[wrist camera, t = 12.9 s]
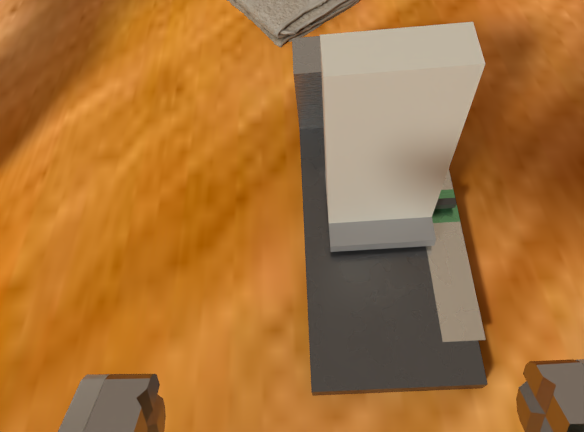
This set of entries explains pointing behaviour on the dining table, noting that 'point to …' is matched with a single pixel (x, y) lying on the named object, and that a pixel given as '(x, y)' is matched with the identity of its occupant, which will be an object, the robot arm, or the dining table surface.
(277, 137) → the dining table surface
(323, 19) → the washcloth
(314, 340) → the base
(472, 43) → the upright white panel
